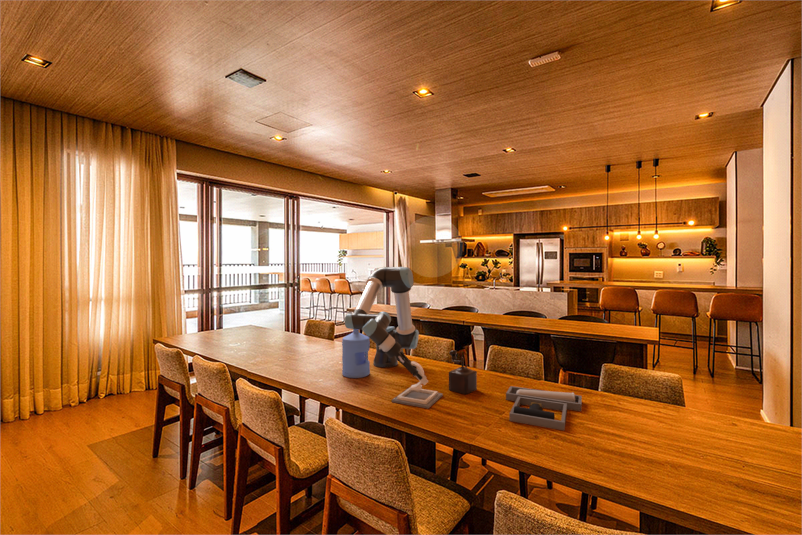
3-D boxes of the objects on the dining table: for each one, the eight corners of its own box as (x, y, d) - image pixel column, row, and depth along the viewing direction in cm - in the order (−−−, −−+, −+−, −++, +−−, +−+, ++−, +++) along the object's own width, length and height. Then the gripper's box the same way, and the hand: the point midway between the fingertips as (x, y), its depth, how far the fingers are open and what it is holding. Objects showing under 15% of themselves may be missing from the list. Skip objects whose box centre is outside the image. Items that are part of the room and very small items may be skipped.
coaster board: (408, 389, 187) (408, 385, 187) (442, 395, 179) (442, 390, 179) (391, 402, 171) (391, 397, 171) (428, 408, 163) (428, 403, 163)
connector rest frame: (518, 402, 170) (518, 396, 169) (566, 410, 161) (566, 403, 161) (509, 420, 150) (509, 413, 150) (564, 430, 141) (564, 422, 141)
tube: (516, 393, 171) (575, 398, 164) (515, 386, 176) (573, 390, 169) (516, 403, 173) (575, 408, 166) (515, 395, 178) (573, 400, 171)
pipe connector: (518, 398, 161) (555, 404, 154) (518, 410, 161) (555, 417, 155) (513, 408, 151) (553, 415, 144) (513, 421, 151) (553, 428, 144)
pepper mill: (478, 389, 188) (478, 353, 188) (466, 395, 180) (466, 357, 180) (452, 382, 199) (452, 348, 198) (439, 387, 190) (439, 352, 190)
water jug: (337, 377, 209) (337, 327, 208) (349, 369, 224) (349, 322, 223) (363, 379, 204) (363, 328, 204) (373, 371, 219) (373, 323, 219)
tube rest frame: (510, 392, 184) (510, 386, 184) (581, 402, 170) (581, 395, 170) (506, 399, 173) (506, 393, 173) (581, 411, 160) (581, 404, 160)
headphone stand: (411, 386, 178) (411, 361, 178) (424, 387, 177) (424, 361, 177) (410, 389, 173) (410, 363, 174) (423, 390, 172) (423, 363, 173)
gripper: (384, 348, 182) (417, 381, 184) (385, 357, 165) (422, 393, 166) (394, 337, 183) (428, 370, 184) (397, 344, 165) (434, 381, 166)
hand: (425, 381), depth 175 cm, fingers closed on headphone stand, 5 cm apart
